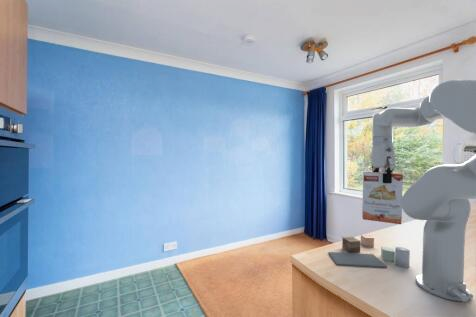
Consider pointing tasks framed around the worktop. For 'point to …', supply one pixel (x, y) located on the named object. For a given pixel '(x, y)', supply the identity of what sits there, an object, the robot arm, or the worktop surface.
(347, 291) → the worktop surface
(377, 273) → the worktop surface
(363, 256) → the mat
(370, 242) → the terracotta block
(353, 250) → the walnut block
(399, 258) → the grey rounded capsule
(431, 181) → the robot arm
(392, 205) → the cracker box
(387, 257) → the sage block
